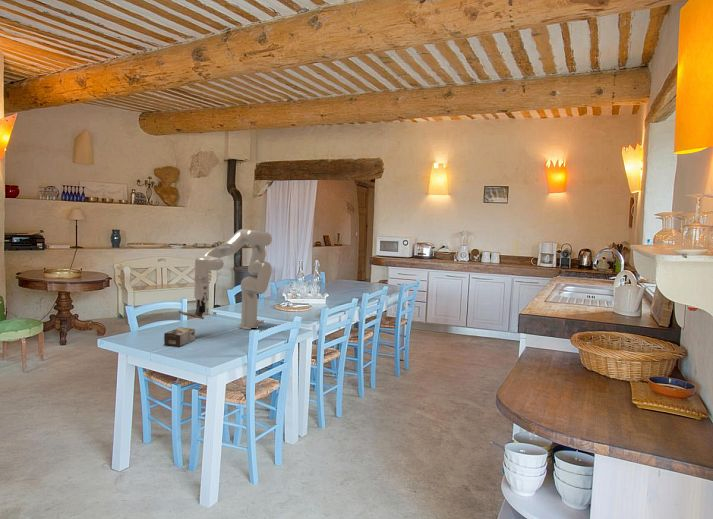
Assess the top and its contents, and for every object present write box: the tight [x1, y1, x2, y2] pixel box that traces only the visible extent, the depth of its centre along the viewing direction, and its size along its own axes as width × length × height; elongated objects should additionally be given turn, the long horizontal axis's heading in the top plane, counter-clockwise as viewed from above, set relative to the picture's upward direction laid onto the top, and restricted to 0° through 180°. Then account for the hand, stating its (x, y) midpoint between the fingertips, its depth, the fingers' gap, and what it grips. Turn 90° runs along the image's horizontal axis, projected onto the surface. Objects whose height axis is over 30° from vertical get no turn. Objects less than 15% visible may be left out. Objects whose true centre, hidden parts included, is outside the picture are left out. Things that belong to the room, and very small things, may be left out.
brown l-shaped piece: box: [178, 299, 205, 320], centre depth 277 cm, size 12×7×11 cm, turn 131°
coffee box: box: [163, 326, 196, 347], centre depth 266 cm, size 9×6×16 cm
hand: (200, 311), depth 280 cm, fingers closed on brown l-shaped piece, 3 cm apart
